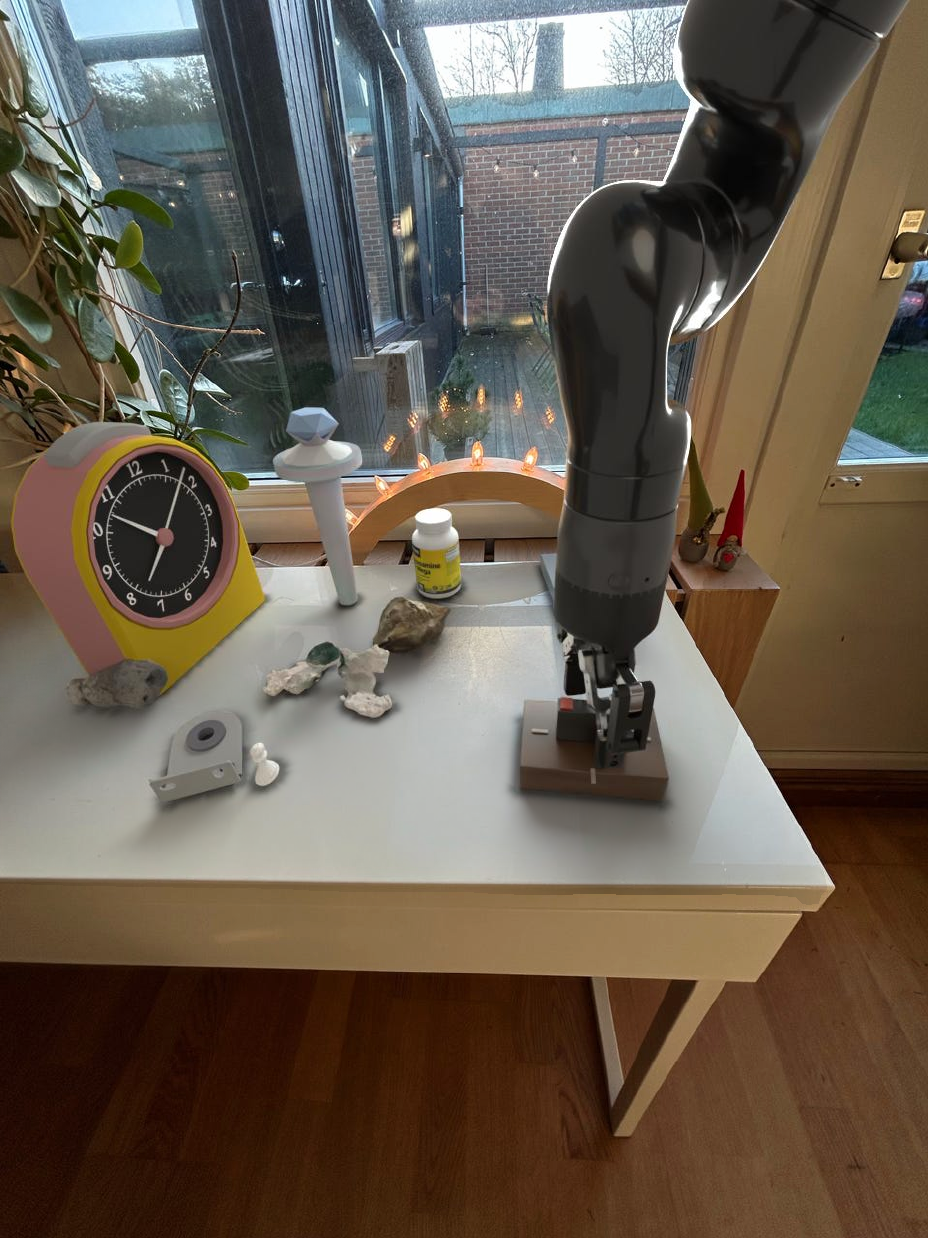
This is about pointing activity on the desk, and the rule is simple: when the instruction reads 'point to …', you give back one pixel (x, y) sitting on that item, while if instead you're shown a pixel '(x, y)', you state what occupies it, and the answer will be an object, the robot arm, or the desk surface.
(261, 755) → the chess pawn
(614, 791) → the panel
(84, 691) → the stone
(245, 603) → the alarm clock
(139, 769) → the desk surface
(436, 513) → the pill bottle
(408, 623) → the fossilized seashell
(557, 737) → the red-tipped grey bar
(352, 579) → the novelty light stick
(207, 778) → the bracket
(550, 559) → the button box
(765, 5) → the robot arm
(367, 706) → the rock
